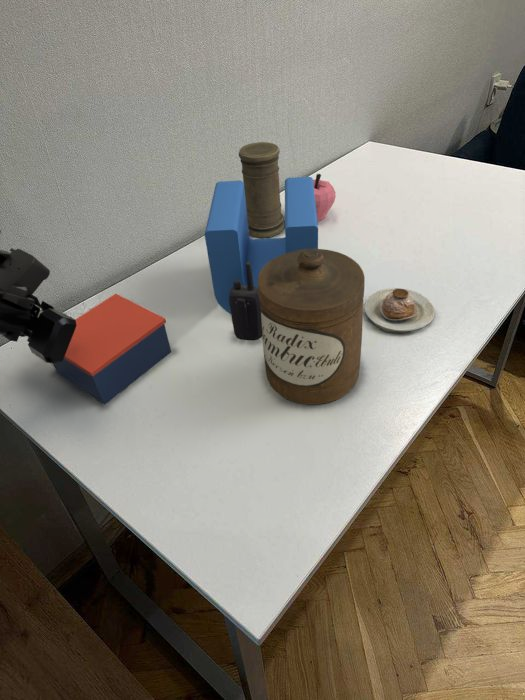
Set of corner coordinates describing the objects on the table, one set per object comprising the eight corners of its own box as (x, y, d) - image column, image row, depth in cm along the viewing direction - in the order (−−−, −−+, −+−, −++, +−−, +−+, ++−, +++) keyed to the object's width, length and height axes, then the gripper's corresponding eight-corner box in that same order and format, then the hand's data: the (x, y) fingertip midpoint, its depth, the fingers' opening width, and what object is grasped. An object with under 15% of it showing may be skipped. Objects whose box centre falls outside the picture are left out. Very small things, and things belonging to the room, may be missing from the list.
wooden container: (248, 385, 79) (233, 267, 65) (293, 330, 88) (289, 215, 74) (334, 419, 73) (340, 297, 58) (373, 356, 82) (386, 236, 67)
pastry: (359, 295, 94) (360, 275, 91) (423, 291, 94) (427, 270, 91) (370, 337, 86) (372, 316, 83) (442, 332, 85) (446, 311, 82)
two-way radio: (266, 330, 89) (260, 257, 79) (261, 347, 86) (254, 273, 76) (236, 328, 90) (226, 255, 80) (229, 344, 87) (218, 271, 77)
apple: (292, 212, 120) (290, 171, 113) (327, 206, 121) (328, 165, 114) (302, 231, 113) (301, 189, 106) (339, 225, 114) (341, 183, 107)
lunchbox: (123, 325, 93) (114, 298, 88) (171, 352, 86) (164, 323, 82) (56, 372, 85) (43, 344, 80) (104, 405, 78) (92, 377, 74)
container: (269, 242, 111) (263, 161, 99) (237, 231, 115) (228, 152, 103) (292, 224, 116) (289, 145, 104) (261, 215, 120) (255, 138, 108)
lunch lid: (116, 296, 89) (115, 293, 88) (166, 322, 82) (165, 318, 82) (43, 344, 80) (41, 341, 80) (92, 376, 74) (90, 373, 74)
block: (218, 319, 92) (203, 231, 80) (226, 264, 105) (215, 181, 93) (317, 315, 91) (318, 225, 79) (313, 260, 104) (313, 176, 92)
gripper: (35, 267, 57) (133, 297, 71) (-45, 225, 66) (55, 259, 80) (1, 358, 58) (104, 370, 71) (-74, 304, 67) (30, 324, 81)
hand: (72, 327), depth 76 cm, fingers closed
